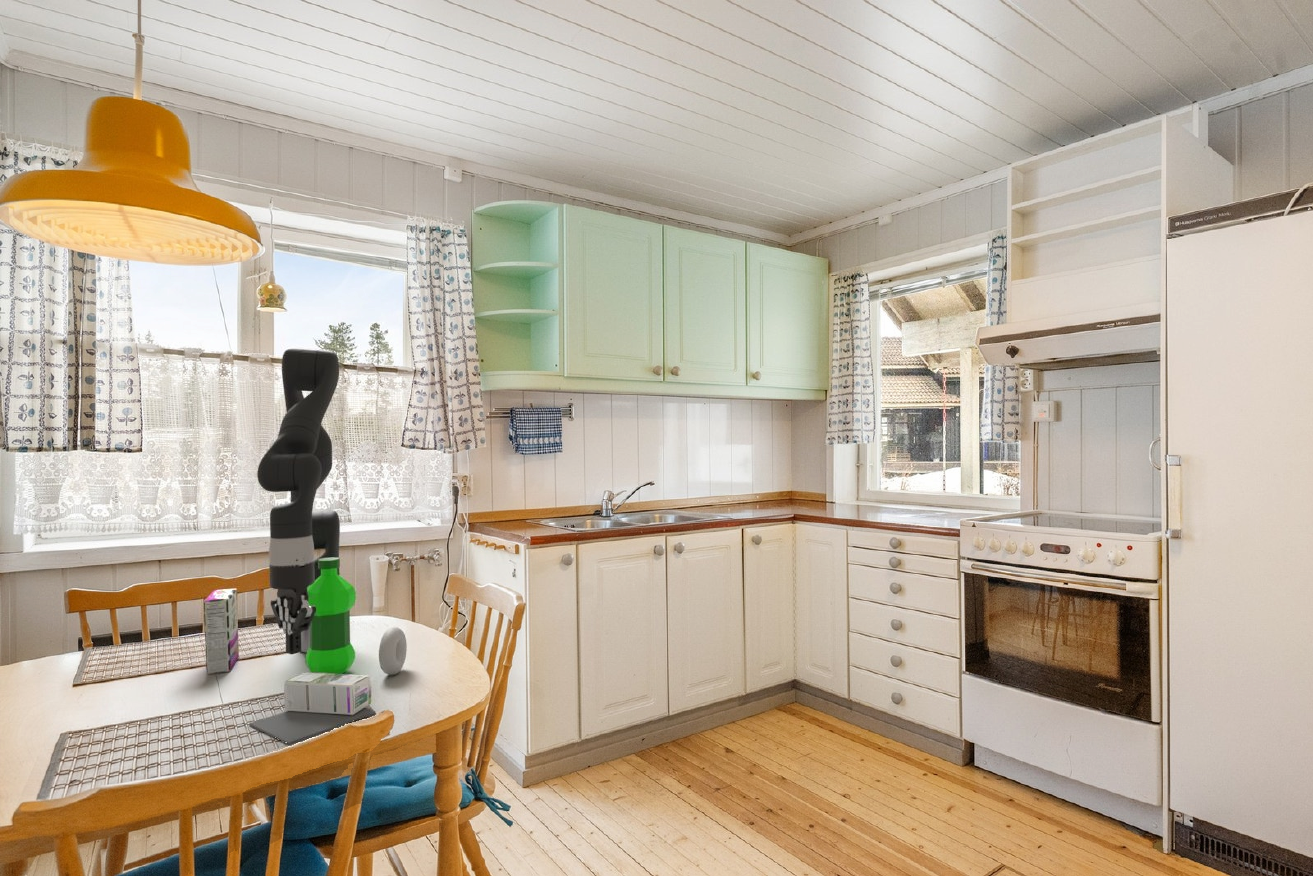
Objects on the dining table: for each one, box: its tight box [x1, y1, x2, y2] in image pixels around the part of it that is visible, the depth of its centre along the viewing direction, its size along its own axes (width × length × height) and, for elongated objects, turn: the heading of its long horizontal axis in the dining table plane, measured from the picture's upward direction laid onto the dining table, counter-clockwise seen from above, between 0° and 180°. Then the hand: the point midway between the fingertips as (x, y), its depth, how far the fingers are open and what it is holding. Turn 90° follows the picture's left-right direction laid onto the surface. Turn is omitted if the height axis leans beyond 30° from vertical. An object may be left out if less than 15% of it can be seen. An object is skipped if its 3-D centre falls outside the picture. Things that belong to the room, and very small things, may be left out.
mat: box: [248, 707, 376, 746], centre depth 131 cm, size 14×16×1 cm
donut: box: [378, 626, 408, 676], centre depth 156 cm, size 10×4×10 cm, turn 0°
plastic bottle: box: [305, 557, 357, 674], centre depth 156 cm, size 10×10×25 cm
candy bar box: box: [203, 588, 240, 675], centre depth 162 cm, size 11×5×16 cm, turn 22°
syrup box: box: [283, 671, 372, 715], centre depth 135 cm, size 6×6×14 cm
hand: (293, 652), depth 135 cm, fingers closed
